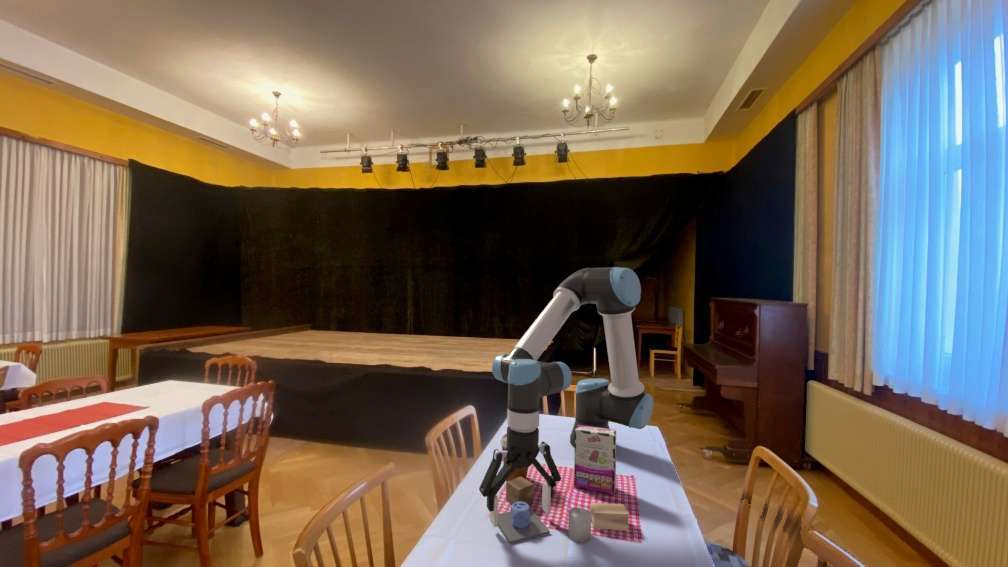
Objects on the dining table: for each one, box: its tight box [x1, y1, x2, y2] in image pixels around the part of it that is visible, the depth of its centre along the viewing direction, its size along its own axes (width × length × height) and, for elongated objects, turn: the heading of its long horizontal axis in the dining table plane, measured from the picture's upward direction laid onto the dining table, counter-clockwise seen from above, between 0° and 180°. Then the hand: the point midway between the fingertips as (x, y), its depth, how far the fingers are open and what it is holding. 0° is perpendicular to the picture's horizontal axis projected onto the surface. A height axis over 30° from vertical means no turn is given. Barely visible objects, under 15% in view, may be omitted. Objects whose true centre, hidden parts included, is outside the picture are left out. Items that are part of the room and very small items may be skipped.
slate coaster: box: [497, 506, 551, 545], centre depth 89 cm, size 10×10×1 cm
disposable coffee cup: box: [499, 432, 529, 482], centre depth 110 cm, size 10×10×12 cm
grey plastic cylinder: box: [567, 507, 592, 544], centre depth 86 cm, size 5×5×5 cm
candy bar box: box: [573, 425, 617, 496], centre depth 107 cm, size 11×5×16 cm, turn 70°
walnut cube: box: [505, 476, 534, 506], centre depth 99 cm, size 5×5×5 cm
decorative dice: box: [510, 502, 531, 528], centre depth 89 cm, size 4×4×4 cm
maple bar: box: [589, 502, 630, 531], centre depth 90 cm, size 4×8×4 cm, turn 89°
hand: (520, 517), depth 89 cm, fingers open, 13 cm apart
